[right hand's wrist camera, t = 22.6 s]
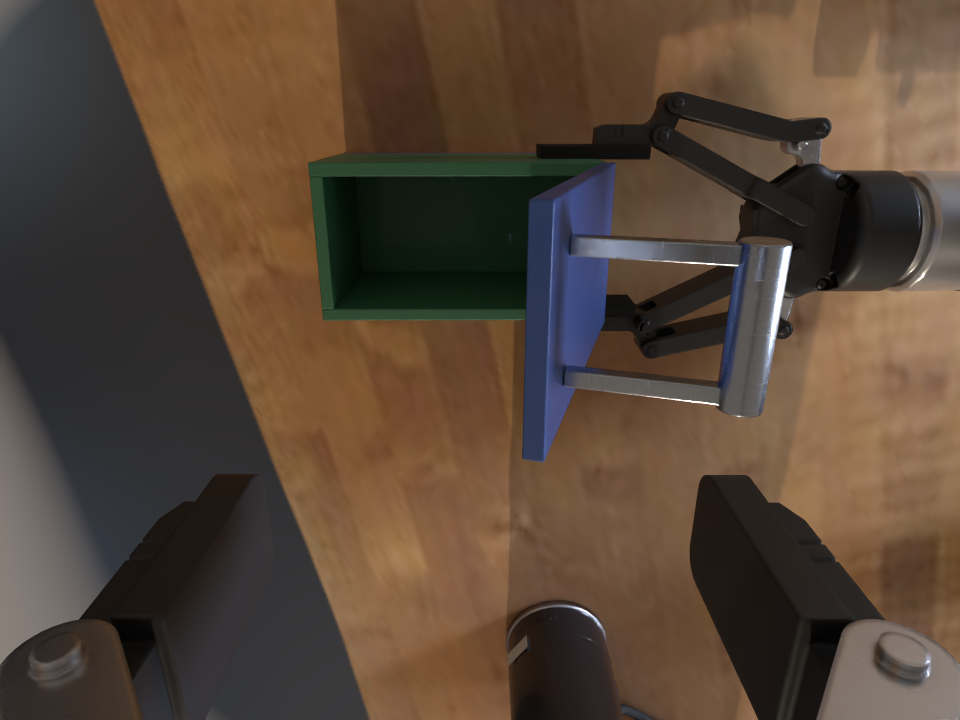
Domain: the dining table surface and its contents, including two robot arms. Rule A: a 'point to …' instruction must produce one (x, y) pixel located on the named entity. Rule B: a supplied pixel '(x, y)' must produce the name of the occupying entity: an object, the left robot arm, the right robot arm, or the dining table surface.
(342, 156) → the chest
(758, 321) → the lid
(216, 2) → the dining table surface
